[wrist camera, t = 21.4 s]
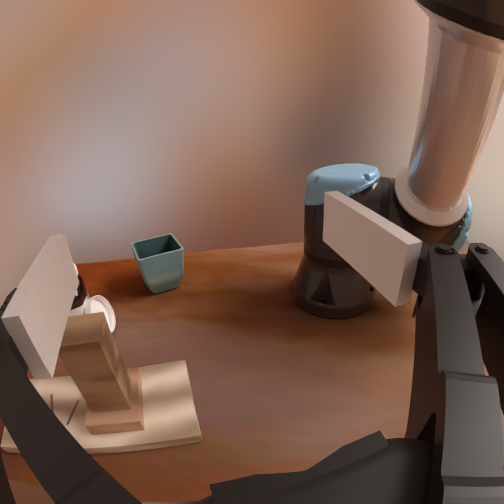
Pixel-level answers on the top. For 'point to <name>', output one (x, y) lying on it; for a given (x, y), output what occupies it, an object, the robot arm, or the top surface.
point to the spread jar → (91, 304)
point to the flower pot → (160, 262)
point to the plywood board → (154, 409)
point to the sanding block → (102, 376)
